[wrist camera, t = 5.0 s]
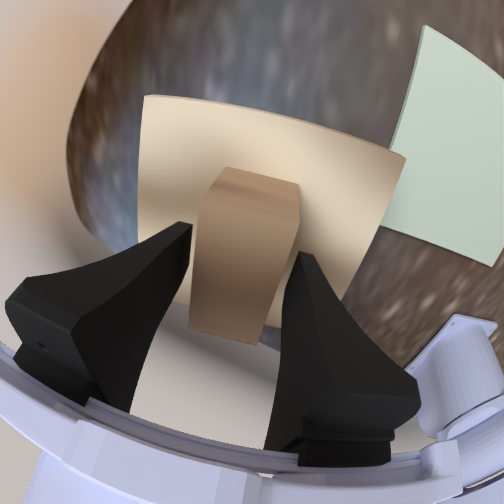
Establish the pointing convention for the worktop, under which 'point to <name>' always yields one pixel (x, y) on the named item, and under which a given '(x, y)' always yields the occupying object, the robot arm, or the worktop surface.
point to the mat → (451, 152)
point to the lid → (257, 204)
